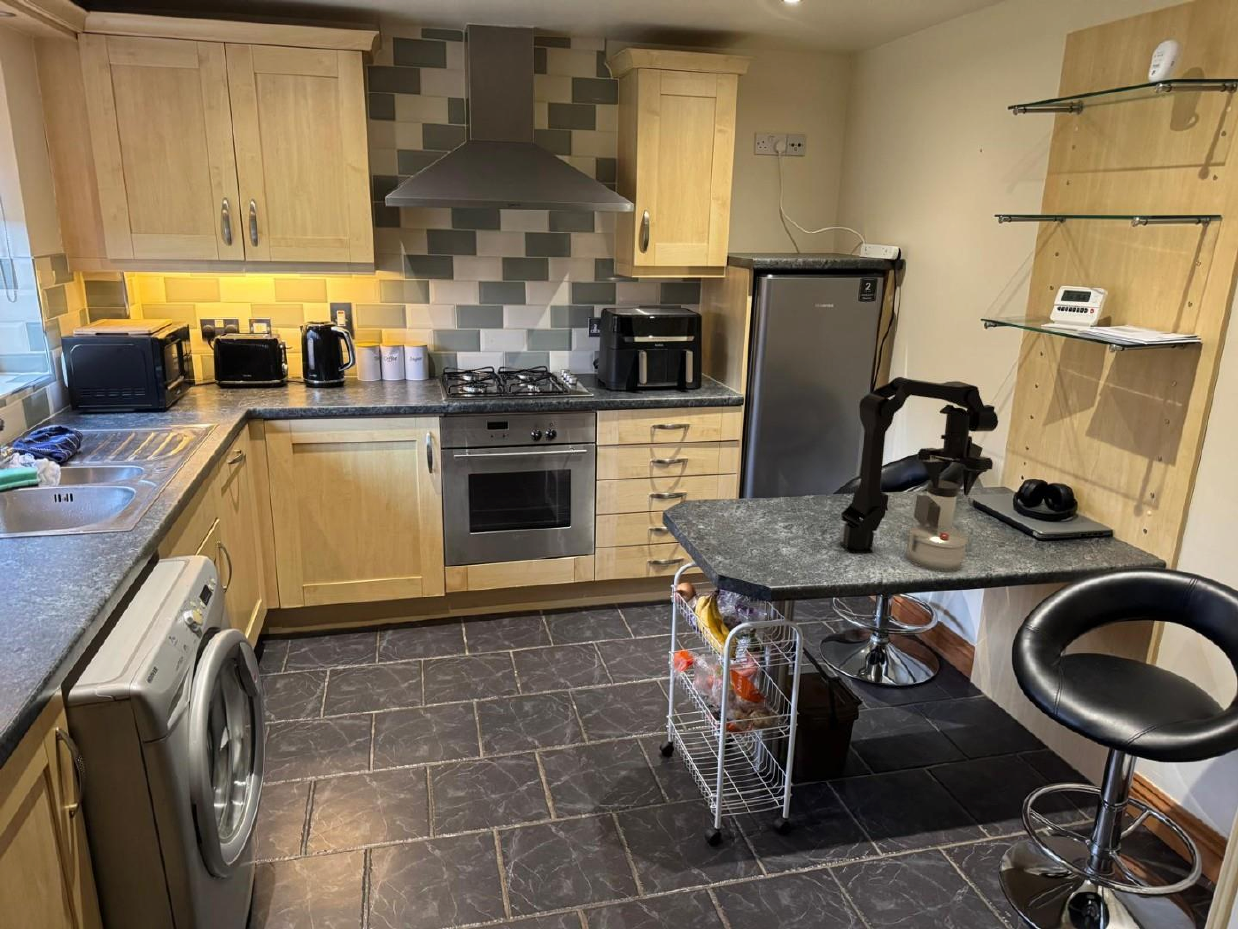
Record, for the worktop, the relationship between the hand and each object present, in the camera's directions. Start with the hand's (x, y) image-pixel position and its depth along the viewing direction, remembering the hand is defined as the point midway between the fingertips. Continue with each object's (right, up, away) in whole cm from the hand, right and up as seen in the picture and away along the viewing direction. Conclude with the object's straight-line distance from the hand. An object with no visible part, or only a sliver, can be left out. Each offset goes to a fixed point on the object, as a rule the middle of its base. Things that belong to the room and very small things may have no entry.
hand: (950, 491), depth 217 cm
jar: (+4, -10, +20) cm, 23 cm away
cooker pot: (-5, -16, -5) cm, 18 cm away
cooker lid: (-7, -10, -5) cm, 13 cm away
